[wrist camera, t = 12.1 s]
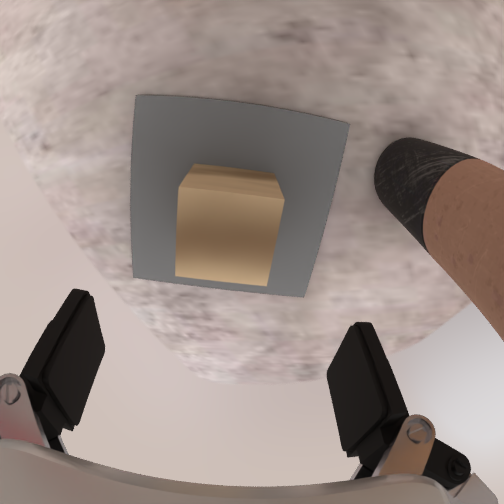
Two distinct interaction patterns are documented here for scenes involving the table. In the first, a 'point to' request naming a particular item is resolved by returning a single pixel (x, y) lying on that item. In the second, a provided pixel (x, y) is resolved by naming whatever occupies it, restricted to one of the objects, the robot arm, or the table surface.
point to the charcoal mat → (235, 156)
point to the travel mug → (451, 215)
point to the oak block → (227, 224)
